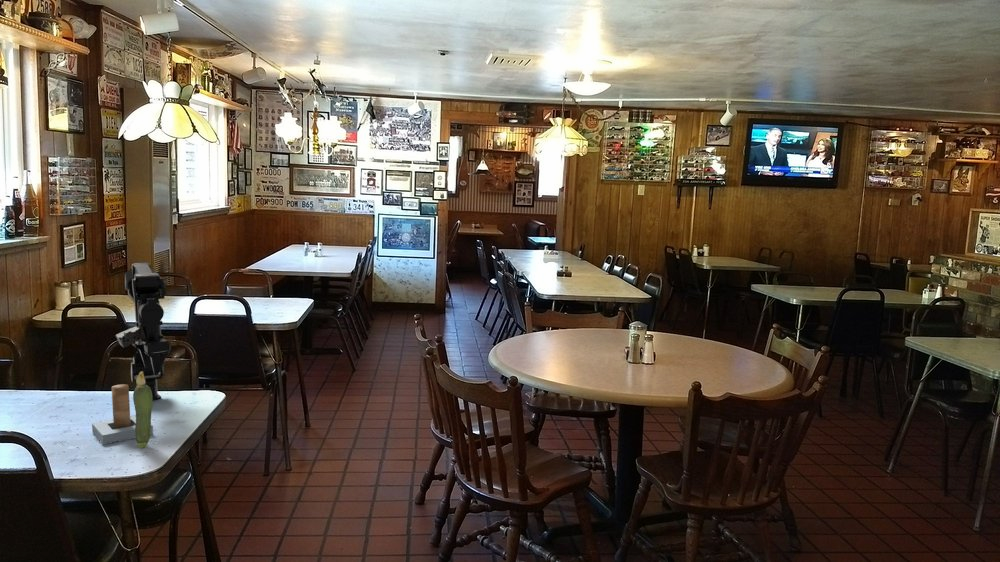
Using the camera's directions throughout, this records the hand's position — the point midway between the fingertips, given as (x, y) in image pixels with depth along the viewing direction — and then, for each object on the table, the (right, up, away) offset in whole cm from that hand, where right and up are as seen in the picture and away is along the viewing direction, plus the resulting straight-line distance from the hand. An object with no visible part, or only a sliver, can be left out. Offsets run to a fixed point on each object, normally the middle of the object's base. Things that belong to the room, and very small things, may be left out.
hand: (151, 370), depth 205 cm
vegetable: (+10, -17, -24) cm, 31 cm away
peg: (-1, -15, -14) cm, 21 cm away
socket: (-1, -15, -14) cm, 21 cm away
